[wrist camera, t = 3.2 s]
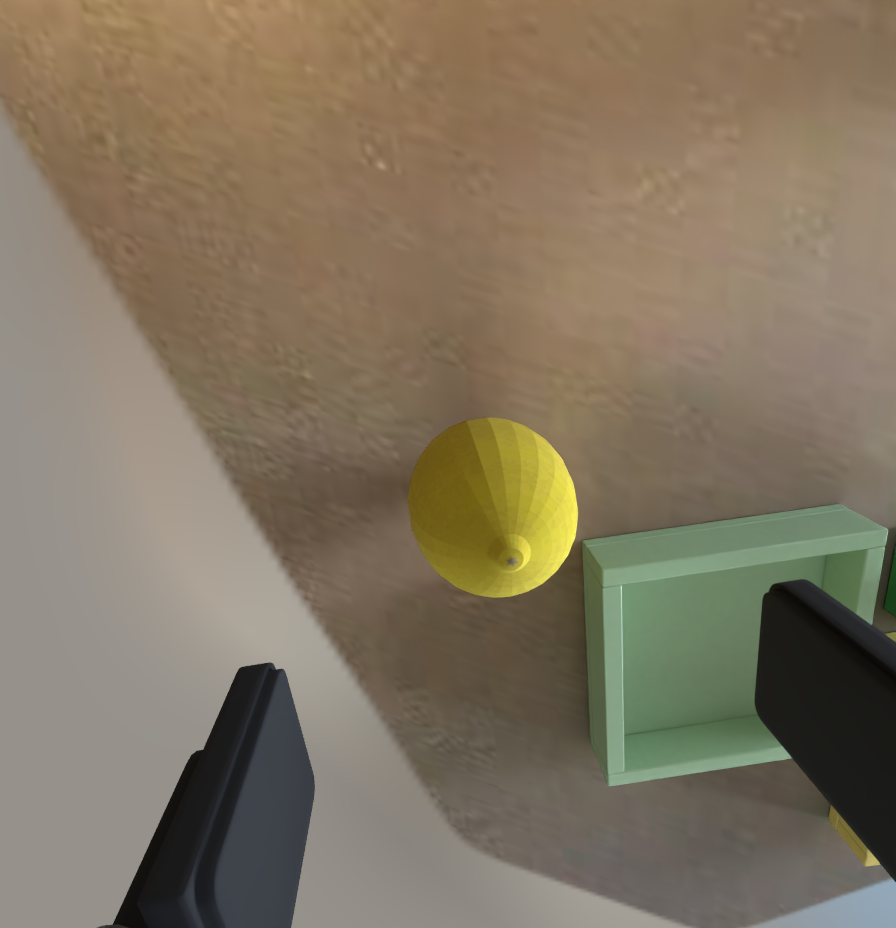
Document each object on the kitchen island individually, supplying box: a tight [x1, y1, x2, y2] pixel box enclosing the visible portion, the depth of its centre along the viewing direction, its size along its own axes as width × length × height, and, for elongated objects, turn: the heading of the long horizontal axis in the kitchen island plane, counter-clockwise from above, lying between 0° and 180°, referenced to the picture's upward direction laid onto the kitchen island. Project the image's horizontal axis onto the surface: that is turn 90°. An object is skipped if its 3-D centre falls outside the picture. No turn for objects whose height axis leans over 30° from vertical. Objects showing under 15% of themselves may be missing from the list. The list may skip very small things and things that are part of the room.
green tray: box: [582, 504, 888, 786], centre depth 24 cm, size 12×12×3 cm
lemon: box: [408, 417, 578, 598], centre depth 18 cm, size 6×6×8 cm
